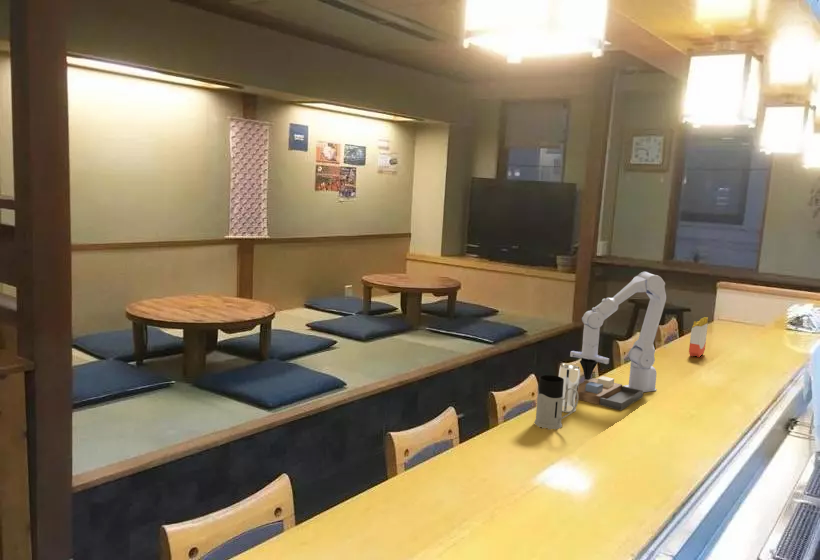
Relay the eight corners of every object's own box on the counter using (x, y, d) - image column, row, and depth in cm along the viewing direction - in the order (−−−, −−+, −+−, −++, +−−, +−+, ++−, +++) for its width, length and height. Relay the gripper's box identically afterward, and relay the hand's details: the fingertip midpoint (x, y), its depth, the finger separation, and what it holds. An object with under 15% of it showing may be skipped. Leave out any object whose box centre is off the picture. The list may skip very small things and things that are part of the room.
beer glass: (577, 414, 227) (581, 370, 225) (556, 412, 228) (559, 368, 226) (576, 407, 234) (580, 365, 232) (555, 405, 235) (559, 363, 233)
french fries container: (687, 356, 312) (691, 318, 310) (694, 352, 321) (698, 314, 318) (697, 358, 310) (702, 319, 307) (704, 354, 318) (708, 316, 316)
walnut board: (568, 397, 245) (569, 389, 245) (592, 385, 260) (593, 377, 260) (599, 404, 238) (599, 396, 237) (621, 392, 253) (622, 384, 253)
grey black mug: (544, 417, 222) (547, 372, 220) (582, 430, 212) (586, 383, 210) (528, 423, 216) (531, 377, 214) (567, 436, 206) (571, 388, 204)
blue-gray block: (585, 390, 243) (585, 384, 243) (590, 388, 247) (591, 381, 246) (597, 393, 240) (597, 386, 240) (602, 391, 244) (603, 384, 244)
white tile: (597, 385, 251) (597, 378, 251) (602, 382, 254) (602, 376, 254) (608, 387, 248) (609, 381, 248) (613, 385, 252) (614, 378, 251)
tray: (599, 404, 238) (600, 398, 237) (622, 392, 253) (622, 386, 253) (621, 410, 233) (621, 403, 233) (642, 397, 248) (643, 390, 248)
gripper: (567, 341, 255) (564, 376, 257) (604, 348, 246) (601, 385, 248) (576, 338, 260) (573, 373, 262) (612, 345, 251) (609, 381, 253)
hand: (587, 378), depth 256 cm, fingers closed
